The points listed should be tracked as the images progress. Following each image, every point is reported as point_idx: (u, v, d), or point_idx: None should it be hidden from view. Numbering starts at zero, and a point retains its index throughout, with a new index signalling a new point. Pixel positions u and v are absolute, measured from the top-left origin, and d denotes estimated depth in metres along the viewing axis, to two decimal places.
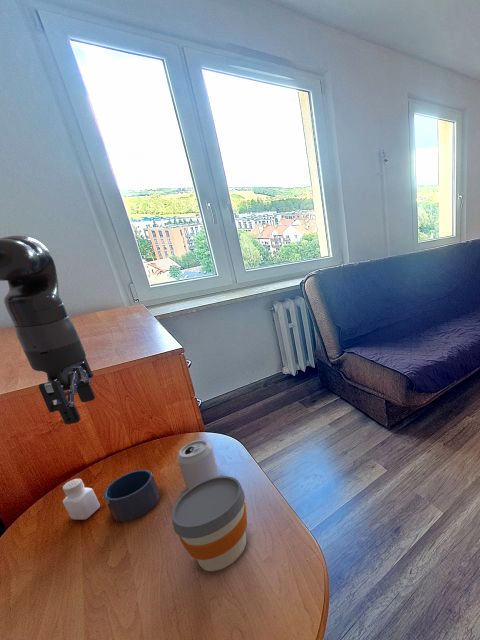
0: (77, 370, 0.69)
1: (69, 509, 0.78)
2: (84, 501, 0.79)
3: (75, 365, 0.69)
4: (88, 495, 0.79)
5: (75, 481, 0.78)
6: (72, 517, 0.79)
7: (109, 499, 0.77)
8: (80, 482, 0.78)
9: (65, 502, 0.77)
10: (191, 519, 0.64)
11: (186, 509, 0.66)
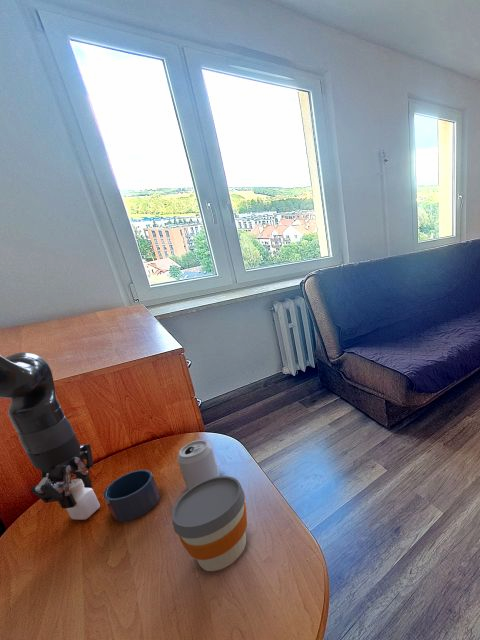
0: (73, 461, 0.77)
1: (69, 509, 0.78)
2: (84, 501, 0.79)
3: (73, 455, 0.77)
4: (88, 495, 0.79)
5: (75, 481, 0.78)
6: (72, 517, 0.79)
7: (109, 499, 0.77)
8: (80, 482, 0.78)
9: None
10: (191, 519, 0.64)
11: (186, 509, 0.66)
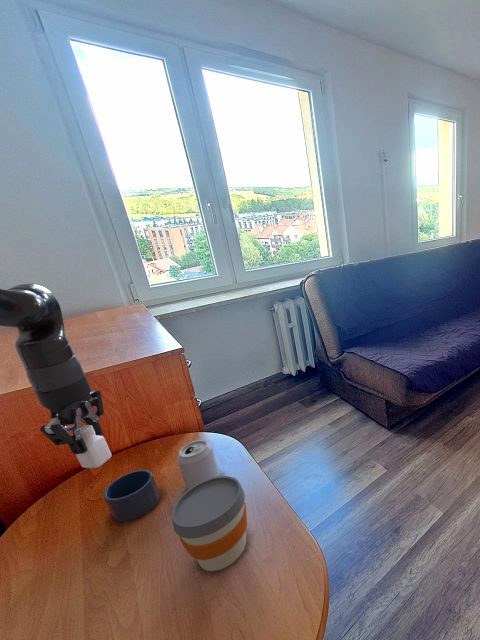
0: (83, 405, 0.73)
1: (80, 456, 0.74)
2: (95, 448, 0.75)
3: (84, 399, 0.74)
4: (99, 442, 0.76)
5: (86, 427, 0.75)
6: (83, 465, 0.75)
7: (109, 499, 0.77)
8: (91, 428, 0.74)
9: None
10: (191, 519, 0.64)
11: (186, 509, 0.66)
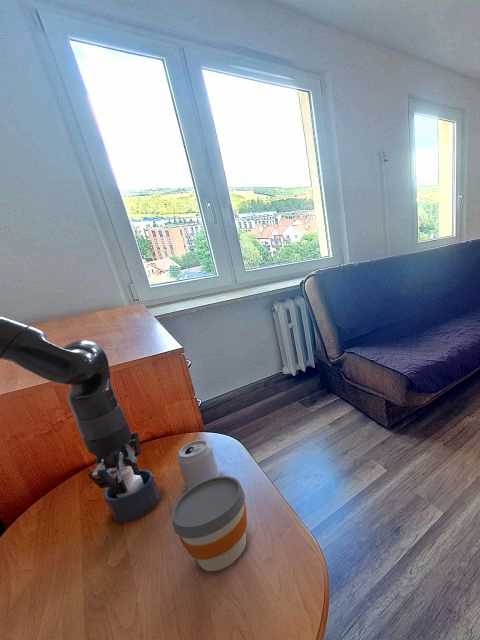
0: (124, 448, 0.78)
1: (119, 496, 0.79)
2: (134, 488, 0.80)
3: None
4: (137, 482, 0.81)
5: (125, 468, 0.80)
6: None
7: (109, 499, 0.77)
8: (130, 469, 0.80)
9: None
10: (191, 519, 0.64)
11: (186, 509, 0.66)
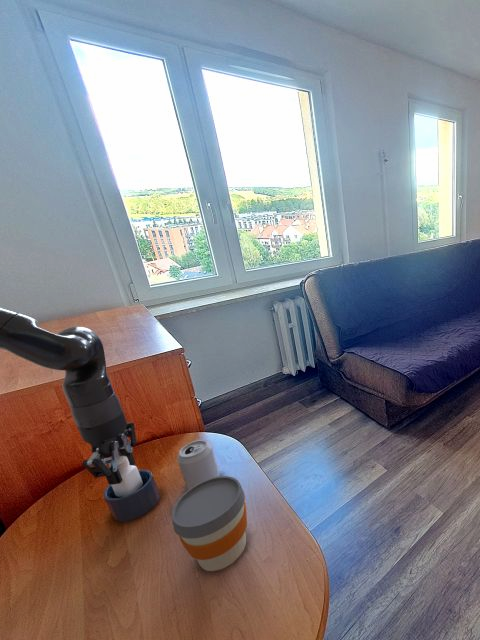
0: (120, 438, 0.77)
1: (115, 486, 0.78)
2: (129, 478, 0.79)
3: None
4: (133, 472, 0.80)
5: (121, 458, 0.79)
6: (117, 494, 0.79)
7: (109, 499, 0.77)
8: (126, 459, 0.79)
9: None
10: (191, 519, 0.64)
11: (186, 509, 0.66)
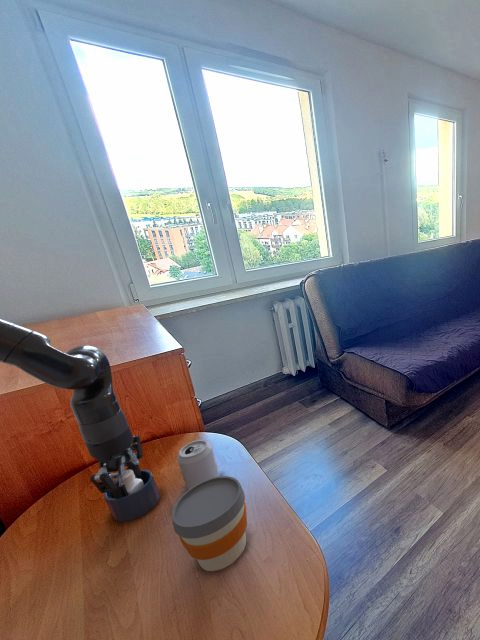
0: (126, 452, 0.78)
1: None
2: (135, 491, 0.80)
3: None
4: (139, 486, 0.81)
5: (127, 472, 0.80)
6: None
7: (109, 499, 0.77)
8: (132, 473, 0.80)
9: None
10: (191, 519, 0.64)
11: (186, 509, 0.66)
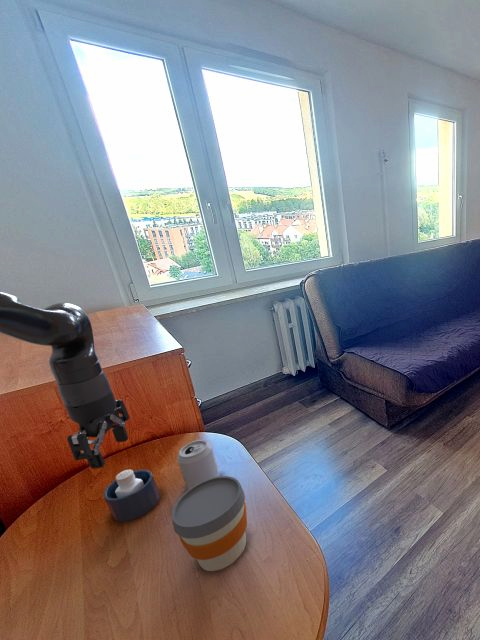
0: (109, 418, 0.76)
1: None
2: (135, 491, 0.80)
3: (109, 413, 0.76)
4: (139, 486, 0.81)
5: (127, 472, 0.80)
6: None
7: (109, 499, 0.77)
8: (132, 473, 0.80)
9: (118, 493, 0.79)
10: (191, 519, 0.64)
11: (186, 509, 0.66)
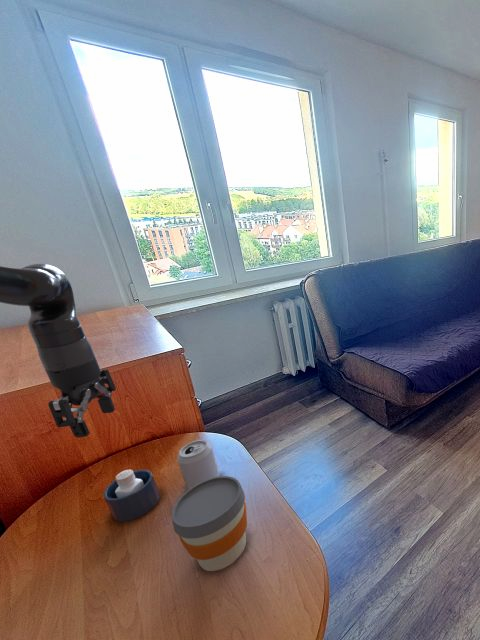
0: (93, 386, 0.73)
1: None
2: (135, 491, 0.80)
3: (93, 381, 0.74)
4: (139, 486, 0.81)
5: (127, 472, 0.80)
6: None
7: (109, 499, 0.77)
8: (132, 473, 0.80)
9: (118, 493, 0.79)
10: (191, 519, 0.64)
11: (186, 509, 0.66)
